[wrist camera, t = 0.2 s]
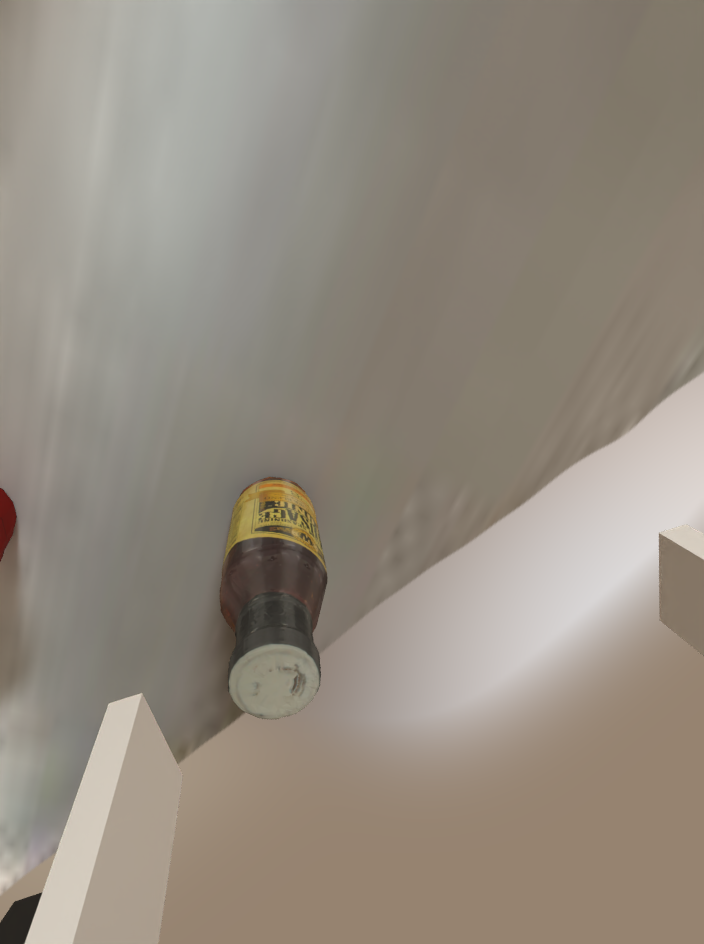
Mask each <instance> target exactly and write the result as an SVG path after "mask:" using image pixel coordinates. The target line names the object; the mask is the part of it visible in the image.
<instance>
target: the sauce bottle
mask: <svg viewBox="0 0 704 944" xmlns="http://www.w3.org/2000/svg"><path fill="white" fill-rule="evenodd" d="M326 585H327V572H326V566H325V561H324V555H323V551H322V545H321V541H320V536H319V531H318V526H317V521H316V515H315V511H314V507H313V505H312V502H311V501H310V499H309V497H308V496H307V495H306V493H305V491H304V490H303V489H302V488H301V487H300V486H298V484H297V483H294V482H292V481H289V480H286V479H282V478H275V477H268V478H264V479H261V480H259V481H256V482H255V483H254V484H251V485H250V486H248V487H247V488H246V489H244V490H243V492H242V493H241V495H240V497H239V499H238V500H237V502H236V504H235V506H234V508H233V513H232V519H231V525H230V530H229V535H228V541H227V546H226V552H225V557H224V562H223V568H222V581H221V587H220V606H221V613H222V614H223V616H224V618H225V619H226V622H227V623H228V625H229V626H230V627H231V629H233V631H234V632H235V636H236V648H235V649H234V651H233V653H232V656H231V658H230V662H229V669H228V691H229V693H230V695H231V697H232V700H233V701H234V702H235V704H236V705H237V706H238V707H239V708H240V709H241V710H242V711H244V712H246V713H249V714H251V715H253V716H255V717H258V718H262V719H279V718H281V717H286V716H290V715H293V714H296V713H297V712H299V711H300V710H302V709H303V708H305V706H307V705H308V704H309V703H310V702H311V701H312V700H313V698H314V696H315V695H316V693H317V691H318V689H319V686H320V677H321V671H320V668H321V667H320V656H319V652H318V650H317V648H316V646H315V644H314V642H313V636H312V632H313V631H314V629H315V627H316V625H317V622H318V618H319V614H320V610H321V605H322V601H323V597H324V593H325V589H326Z"/></svg>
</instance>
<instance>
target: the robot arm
mask: <svg viewBox="0 0 704 944" xmlns="http://www.w3.org/2000/svg"><path fill="white" fill-rule="evenodd" d="M659 603H660V604H659V605H660V607H659V608H660V621H661V622H662V623H664V624H665V625H666V626H667V627H669V628H670V629H671V630H672V631H673V632H675V633H676V634H677V635H678V636H680V637H681V638H682V639H683V640H684V641H686V642H687V643H688V644H690V645H691V646H692V647H693V648H694V649H696V650H697V651H698V652H699V653H700V654H702V655H703V656H704V534H703V533H701V532H699V531H698V530H696V529H694V528H692V527H690V526H688V525H682V526H679V527H676V528H673V529H670V530H666V531H663V532H660V533H659ZM182 779H183V775H182V773H181V771H180V769H179V766H178V764H177V762H176V760H175V758H174V756H173V754H172V752H171V750H170V748H169V746H168V744H167V742H166V740H165V738H164V736H163V734H162V732H161V730H160V728H159V726H158V724H157V722H156V720H155V718H154V716H153V714H152V712H151V710H150V708H149V706H148V704H147V702H146V700H145V698H144V696H143V694H142V693H141V694H137V695H134V696H131V697H128V698H124V699H121V700H118V701H115V702H112V703H109V704H108V707H107V710H106V713H105V716H104V719H103V722H102V724H101V727H100V730H99V733H98V736H97V739H96V742H95V744H94V747H93V750H92V753H91V756H90V759H89V761H88V764H87V767H86V770H85V773H84V776H83V779H82V781H81V784H80V787H79V790H78V793H77V796H76V799H75V801H74V804H73V807H72V810H71V813H70V816H69V818H68V821H67V824H66V827H65V830H64V833H63V836H62V838H61V841H60V844H59V847H58V850H57V853H56V856H55V858H54V861H53V864H52V867H51V870H50V873H49V875H48V878H47V881H46V884H45V887H44V890H43V892H42V893H39V894H36V895H33V896H30V897H27V898H24V899H22V900H19V901H15V902H14V903H13V905H12V906H11V908H10V909H9V911H8V912H7V914H6V915H5V917H4V918H3V920H2V921H1V923H0V944H159V937H160V930H161V923H162V917H163V909H164V903H165V895H166V889H167V882H168V875H169V869H170V862H171V855H172V847H173V841H174V834H175V828H176V821H177V814H178V807H179V800H180V793H181V786H182Z"/></svg>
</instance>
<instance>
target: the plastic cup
mask: <svg viewBox="0 0 704 944" xmlns="http://www.w3.org/2000/svg"><path fill="white" fill-rule="evenodd" d="M16 518H17V516H16V512H15V508H14V504H13V502H12V501H11V499H10V498H9V497H8V495H7V494H6V493H5V491H4V490H3V489H1V488H0V561H1V559H2V557H3V554H4V550H5V548H6V546H7V544H8V542H9V541H10V539H11V537H12V535H13V531H14V527H15V523H16Z"/></svg>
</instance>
